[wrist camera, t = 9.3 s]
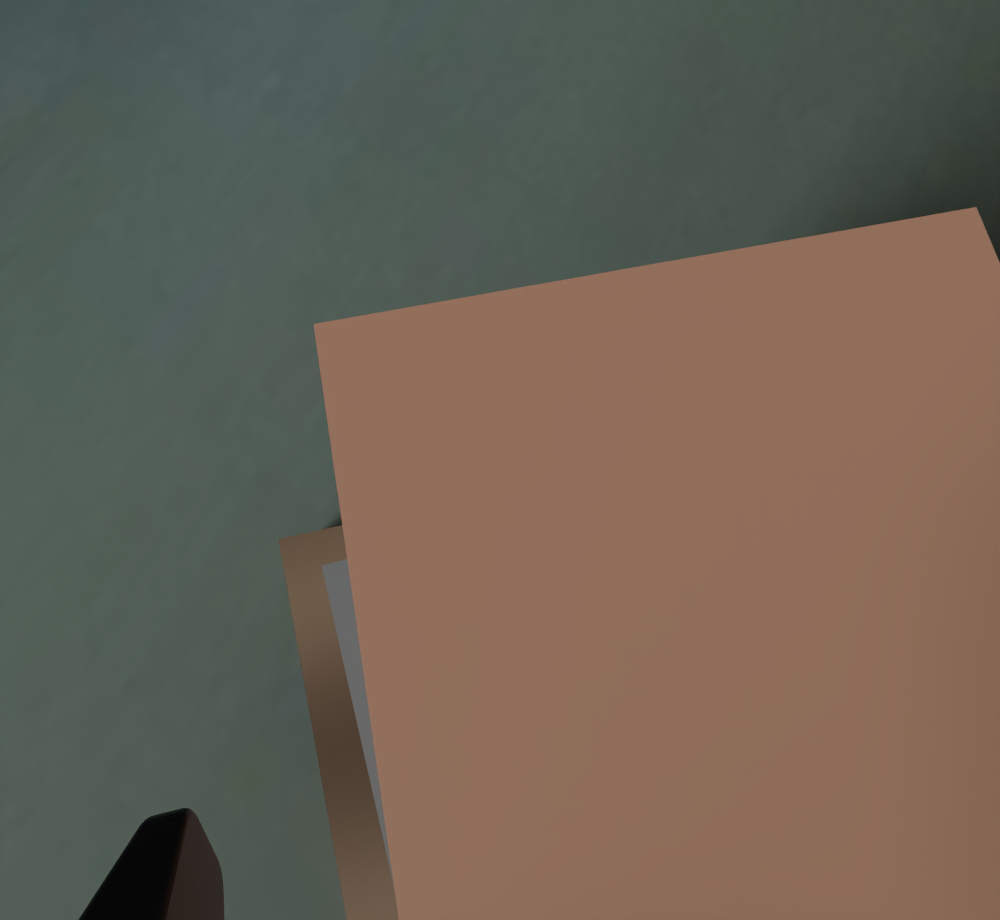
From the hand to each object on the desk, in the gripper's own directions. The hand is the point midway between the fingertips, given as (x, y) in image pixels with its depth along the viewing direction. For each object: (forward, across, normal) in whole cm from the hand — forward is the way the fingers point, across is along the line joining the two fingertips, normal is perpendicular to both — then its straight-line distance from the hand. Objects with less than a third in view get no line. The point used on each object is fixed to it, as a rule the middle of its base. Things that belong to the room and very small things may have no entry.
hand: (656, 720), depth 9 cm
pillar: (+6, 0, +6) cm, 8 cm away
